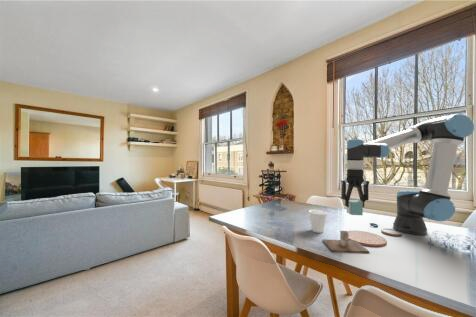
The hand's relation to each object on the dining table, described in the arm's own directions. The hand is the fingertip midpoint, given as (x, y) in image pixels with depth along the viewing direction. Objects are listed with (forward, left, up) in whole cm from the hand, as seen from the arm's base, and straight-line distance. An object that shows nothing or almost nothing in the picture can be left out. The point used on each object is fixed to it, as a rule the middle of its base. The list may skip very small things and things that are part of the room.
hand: (354, 213), depth 106 cm
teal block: (0, 0, 0) cm, 0 cm away
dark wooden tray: (+10, +11, -13) cm, 20 cm away
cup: (+16, -9, -13) cm, 23 cm away
